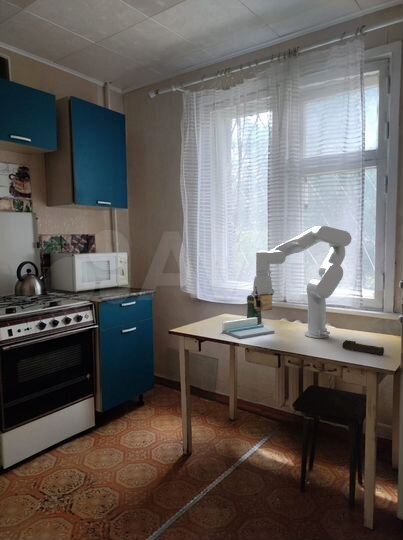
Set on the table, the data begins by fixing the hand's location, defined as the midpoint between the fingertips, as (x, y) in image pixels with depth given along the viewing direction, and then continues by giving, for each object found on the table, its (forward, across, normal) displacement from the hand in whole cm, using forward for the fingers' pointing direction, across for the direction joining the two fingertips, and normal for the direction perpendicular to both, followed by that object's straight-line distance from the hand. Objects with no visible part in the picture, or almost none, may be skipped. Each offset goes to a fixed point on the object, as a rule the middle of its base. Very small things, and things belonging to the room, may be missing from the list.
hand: (263, 306), depth 211 cm
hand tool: (+18, -23, +46) cm, 54 cm away
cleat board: (+18, -1, -14) cm, 23 cm away
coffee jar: (+18, -19, -32) cm, 41 cm away
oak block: (+2, 0, 0) cm, 2 cm away
